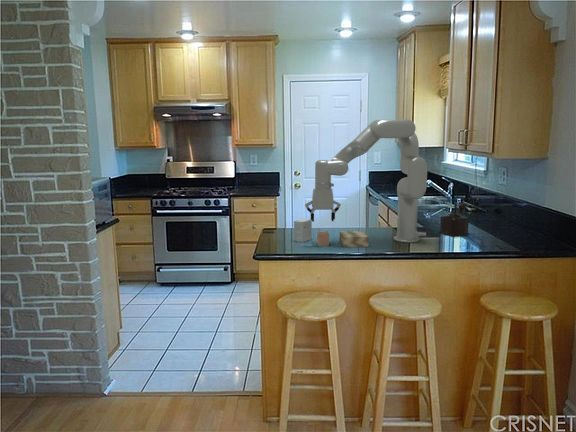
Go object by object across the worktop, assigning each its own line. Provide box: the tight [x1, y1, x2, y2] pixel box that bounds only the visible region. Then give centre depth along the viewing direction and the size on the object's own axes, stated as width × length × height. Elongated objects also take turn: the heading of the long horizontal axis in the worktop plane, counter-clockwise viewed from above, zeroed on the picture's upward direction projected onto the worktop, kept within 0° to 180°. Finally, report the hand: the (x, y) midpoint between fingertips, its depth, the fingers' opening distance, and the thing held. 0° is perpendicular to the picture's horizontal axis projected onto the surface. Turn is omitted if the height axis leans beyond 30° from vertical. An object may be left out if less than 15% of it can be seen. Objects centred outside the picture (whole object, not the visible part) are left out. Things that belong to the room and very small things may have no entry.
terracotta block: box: [316, 230, 330, 247], centre depth 226 cm, size 5×5×6 cm
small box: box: [293, 217, 313, 243], centre depth 235 cm, size 8×6×10 cm
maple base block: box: [339, 230, 370, 248], centre depth 226 cm, size 12×12×5 cm
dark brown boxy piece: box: [439, 202, 470, 238], centre depth 240 cm, size 16×11×18 cm
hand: (322, 221), depth 225 cm, fingers open, 9 cm apart
